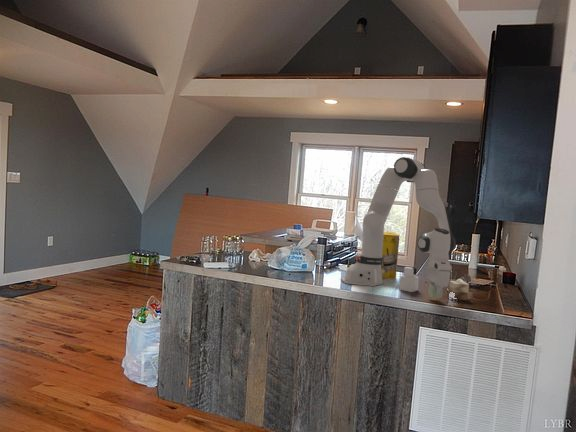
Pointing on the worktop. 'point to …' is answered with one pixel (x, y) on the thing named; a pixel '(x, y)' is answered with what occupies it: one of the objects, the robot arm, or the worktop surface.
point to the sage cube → (434, 291)
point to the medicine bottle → (409, 280)
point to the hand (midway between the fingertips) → (435, 291)
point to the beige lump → (459, 295)
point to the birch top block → (459, 286)
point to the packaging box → (390, 255)
